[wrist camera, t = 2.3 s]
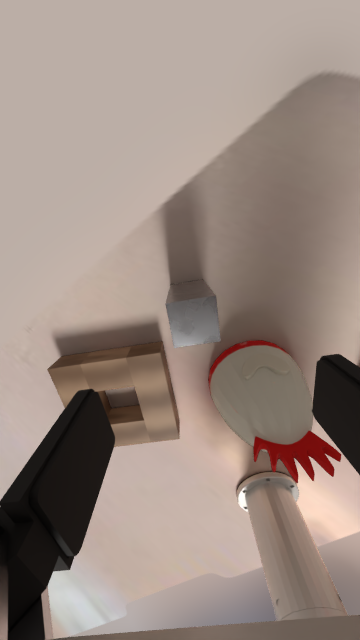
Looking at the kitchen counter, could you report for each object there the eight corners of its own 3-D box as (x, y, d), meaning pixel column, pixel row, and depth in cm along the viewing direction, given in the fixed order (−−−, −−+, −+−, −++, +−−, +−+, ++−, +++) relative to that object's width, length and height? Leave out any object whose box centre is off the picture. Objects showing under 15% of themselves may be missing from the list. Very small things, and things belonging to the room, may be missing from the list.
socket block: (179, 421, 35) (179, 438, 32) (93, 432, 36) (84, 450, 33) (162, 341, 30) (160, 352, 27) (61, 356, 31) (47, 369, 27)
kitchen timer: (292, 406, 34) (370, 516, 20) (213, 416, 35) (236, 529, 21) (294, 333, 30) (400, 411, 15) (204, 347, 30) (225, 432, 16)
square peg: (206, 310, 28) (220, 341, 19) (175, 315, 28) (174, 347, 19) (203, 279, 27) (215, 295, 17) (170, 284, 27) (165, 303, 18)
